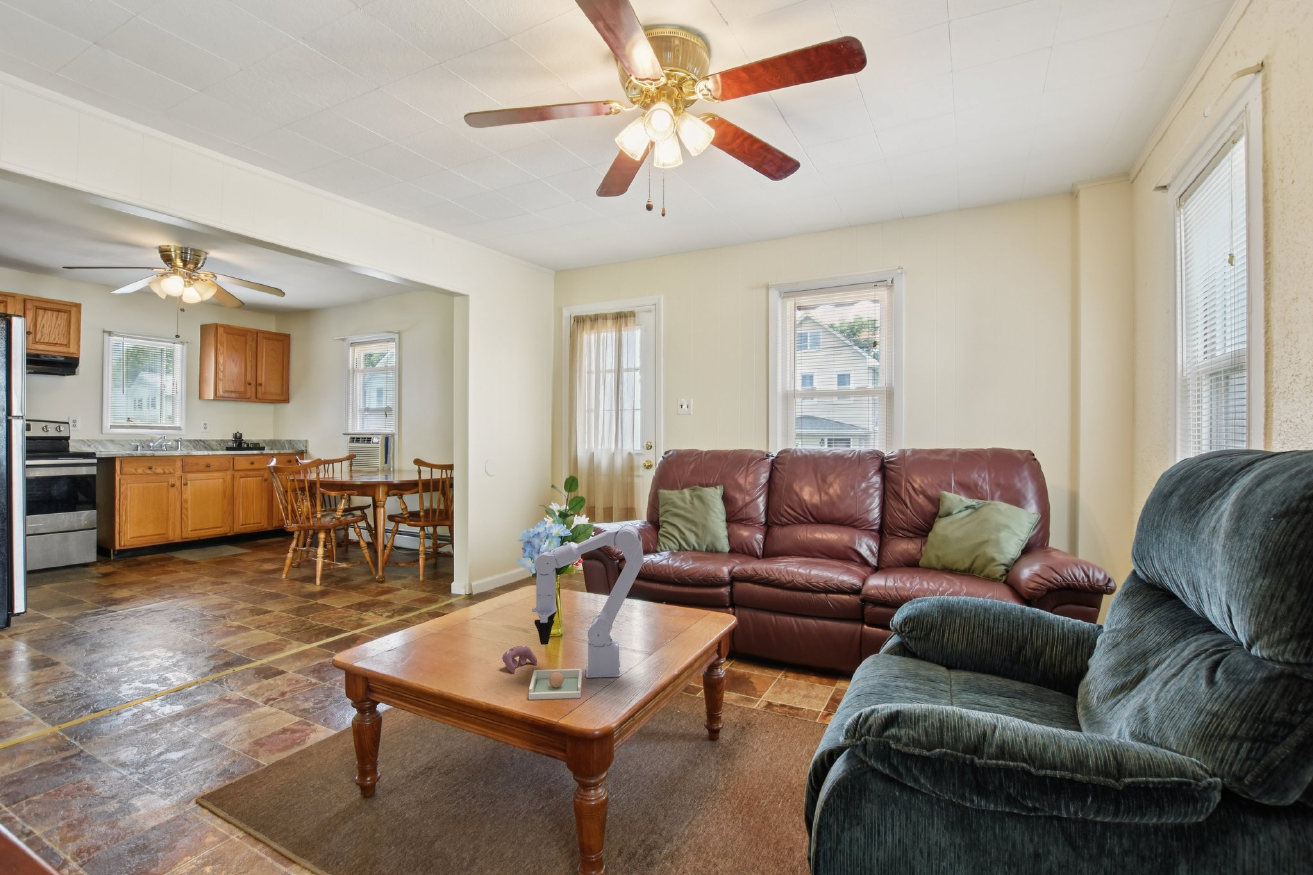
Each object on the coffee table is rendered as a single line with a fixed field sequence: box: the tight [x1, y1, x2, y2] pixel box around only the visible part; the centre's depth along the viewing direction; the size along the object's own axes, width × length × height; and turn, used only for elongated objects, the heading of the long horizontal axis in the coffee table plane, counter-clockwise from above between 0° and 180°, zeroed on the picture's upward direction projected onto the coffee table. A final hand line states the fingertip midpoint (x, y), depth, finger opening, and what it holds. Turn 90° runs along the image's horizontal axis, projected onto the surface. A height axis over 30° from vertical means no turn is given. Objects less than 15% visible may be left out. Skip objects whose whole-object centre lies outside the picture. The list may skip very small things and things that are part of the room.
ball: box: [549, 672, 564, 688], centre depth 168 cm, size 4×4×4 cm
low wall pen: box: [528, 668, 583, 701], centre depth 168 cm, size 14×14×2 cm
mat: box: [533, 678, 578, 693], centre depth 168 cm, size 11×11×1 cm
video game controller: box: [501, 645, 538, 674], centre depth 183 cm, size 10×5×7 cm, turn 141°
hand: (545, 639), depth 179 cm, fingers open, 7 cm apart
